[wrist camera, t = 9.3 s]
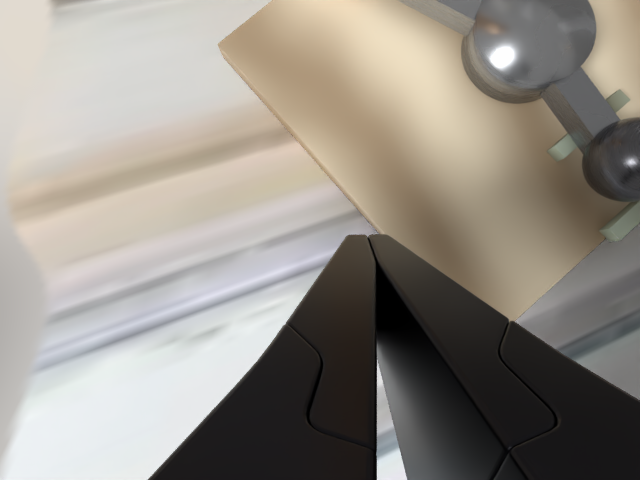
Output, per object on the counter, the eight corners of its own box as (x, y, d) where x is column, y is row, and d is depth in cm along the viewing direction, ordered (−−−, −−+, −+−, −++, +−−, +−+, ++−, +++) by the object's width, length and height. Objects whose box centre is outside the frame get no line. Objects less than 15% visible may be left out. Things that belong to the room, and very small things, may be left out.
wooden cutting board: (483, 351, 17) (500, 358, 15) (223, 56, 19) (212, 33, 17) (745, 113, 18) (789, 94, 16) (478, -148, 20) (492, -190, 18)
